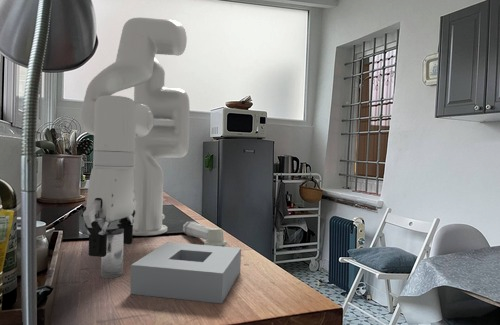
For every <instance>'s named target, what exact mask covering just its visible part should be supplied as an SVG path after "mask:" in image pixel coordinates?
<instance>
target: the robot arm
mask: <svg viewBox="0 0 500 325" xmlns="http://www.w3.org/2000/svg"><path fill="white" fill-rule="evenodd" d="M187 39H188V37H187V32H186V28H185V27H184V25H183V24H181V23H180V22H178V21H176V20H172V19H165V18H153V17H152V18H151V17H133V18H130V19H128V20H127V21H125V23H124V24H123V27H122V30H121V35H120V39H119V44H118V49H117V54H116V58H115V62H112V63H111V64H110V65H108V66H107V67H105V68H103V69H102V70H101V71H100V72H99V73H97V74H96V75H95V76H94V77H93V78H92V79H91V81H90V82H89V84H88V86H87V88H86V90H85V91H86V92H85V95H84V98H83V101H82V107H81V112H80V122H81V126H82V128H83V130H84V131H85V132H86V133H88V134H89V135H91V136H93V156H92V157H93V158H92V159H93V160H92V161H93V162H92V163H93V164H92V168H91V172H90V175H89V181H88V187H87V194H86V195H87V196H86V207H85V208H86V209H85V210H84V211H83V213H82V216H83V219H84V222H85V224H84V227H85V229H86V230H87V231H86V233H87V235H88V256H90V257H99V258H101V257H104V256H106V253H107V234H104V233H105V231H106V229H107V227H109V226H108V225H109V223H113V222H117V221H118V222H119V223H117V224H116V227H123V228H124V242H123V245H131V244H133V236H143V237H147V236H148V237H149V236H157V235H162V234H165V233H166V232H168V226H167V225H165V224H163V220H164V219H165V218H166V215H165V214H164V213H163V211H164V210H163V209H164V208H163V206H164V205H163V204H164V202H163V201H164V171H163V168H162V167H161V165H160V163H158V161H157V160H156V159H155V158H172V159H173V158H179V159H180V158H184V157H185V156H186V155H187V154H188V152H189V147H190V143H189V142H190V108H191V107H190V99H189V95H188V93H187V92H186V90H183V89H181V88H174V87H173V88H172V87H165V79H166V78H165V74H166V73H165V69H164V68H163V66H162V64H161V63H160V61H159V60H158V59H157V58H156V55H165V56H167V55H169V56H178V57H179V56H181V55H183V54H184V53H185V50H186V47H187ZM131 88H133V89H134V90H133V99H132V98H130V97H127V96H122V95H114V94H116V93H120V92H121V91H124V90H128V89H131ZM154 121H169V122H172V123H173V125H171V124H154ZM100 224H101V225H100Z"/></svg>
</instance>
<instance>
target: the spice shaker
mask: <svg viewBox="0 0 500 325" xmlns="http://www.w3.org/2000/svg"><path fill="white" fill-rule="evenodd" d="M104 234H107V253H106V256H104V257H100V259H101V260H100V277H102V278H105V279H113V278H114V279H115V278H119V277H121V276H123V274H124V244H123V242H124V228H123V227H117V225H116V226H114V225H113V226H107V229H106V231H105V233H104Z"/></svg>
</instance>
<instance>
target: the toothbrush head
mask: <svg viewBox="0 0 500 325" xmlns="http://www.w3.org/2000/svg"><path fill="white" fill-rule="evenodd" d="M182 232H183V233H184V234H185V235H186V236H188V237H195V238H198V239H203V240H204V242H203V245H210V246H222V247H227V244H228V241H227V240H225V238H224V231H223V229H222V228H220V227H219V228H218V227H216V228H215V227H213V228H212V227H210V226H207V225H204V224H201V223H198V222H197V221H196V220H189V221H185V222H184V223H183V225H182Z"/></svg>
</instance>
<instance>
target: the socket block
mask: <svg viewBox="0 0 500 325" xmlns="http://www.w3.org/2000/svg"><path fill="white" fill-rule="evenodd" d="M241 262H242V248H241V247H235V246H226V247H222V246H210V245H204V244H197V243H196V244H195V243H185V242H184V243H182V242H171V241H168V242H164V243H163V244H162V245H160V246H159V247H157V248H156V249H154V250H153V251H150V252H149V253H148V254H146V255H145V256H144V255H143V257H141V258H140V259H138V260H137V261H135V262H133V263H132V264H130V295H138V296H147V297H156V298H165V299H166V298H167V299H175V300H186V301H193V302H194V301H195V302H204V303H212V304H214V303H215V304H223V303H224V301H225V299H226V297H227V295H228V294H229V292H230V291H231V289H232V287H233V285H234V284H235V281H236V280H237V278H238V277H239V274H240V273H241V264H242V263H241Z"/></svg>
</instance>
